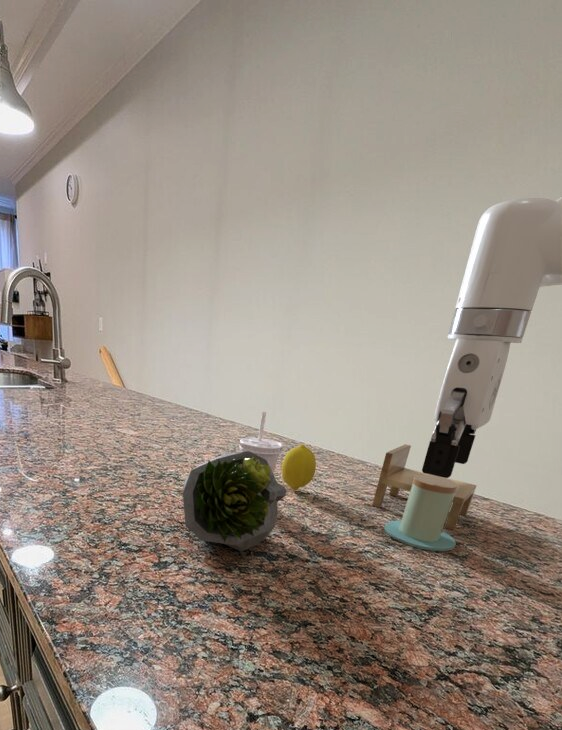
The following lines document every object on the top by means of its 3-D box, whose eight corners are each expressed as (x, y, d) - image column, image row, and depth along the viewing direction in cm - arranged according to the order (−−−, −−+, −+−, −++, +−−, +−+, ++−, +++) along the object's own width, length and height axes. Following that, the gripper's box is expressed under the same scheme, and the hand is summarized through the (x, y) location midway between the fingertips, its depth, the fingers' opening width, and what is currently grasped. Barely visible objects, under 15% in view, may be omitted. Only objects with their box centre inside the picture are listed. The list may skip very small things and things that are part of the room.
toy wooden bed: (466, 514, 73) (485, 461, 70) (453, 530, 66) (473, 472, 62) (391, 493, 80) (405, 444, 77) (371, 505, 73) (386, 452, 70)
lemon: (290, 482, 81) (299, 439, 78) (317, 492, 77) (326, 447, 74) (271, 487, 77) (279, 442, 74) (297, 497, 74) (307, 450, 70)
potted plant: (291, 503, 61) (329, 517, 46) (215, 558, 62) (227, 589, 47) (240, 431, 60) (261, 421, 45) (163, 487, 60) (159, 496, 46)
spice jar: (444, 534, 63) (462, 482, 60) (435, 545, 59) (453, 490, 56) (404, 522, 66) (419, 472, 63) (393, 532, 62) (408, 479, 59)
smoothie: (259, 495, 73) (273, 409, 68) (280, 510, 68) (298, 417, 62) (224, 497, 71) (236, 408, 65) (243, 512, 65) (258, 417, 60)
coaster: (461, 538, 63) (462, 535, 63) (446, 557, 57) (447, 555, 57) (395, 518, 69) (396, 515, 68) (375, 534, 62) (376, 531, 62)
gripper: (515, 326, 44) (463, 489, 51) (532, 332, 56) (488, 463, 63) (432, 323, 48) (394, 473, 55) (465, 329, 61) (430, 451, 67)
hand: (444, 467), depth 59 cm, fingers open, 9 cm apart
